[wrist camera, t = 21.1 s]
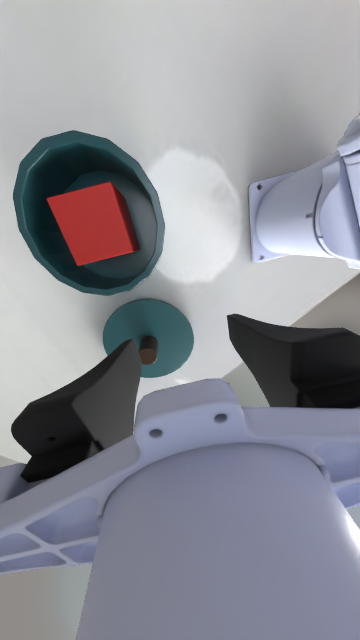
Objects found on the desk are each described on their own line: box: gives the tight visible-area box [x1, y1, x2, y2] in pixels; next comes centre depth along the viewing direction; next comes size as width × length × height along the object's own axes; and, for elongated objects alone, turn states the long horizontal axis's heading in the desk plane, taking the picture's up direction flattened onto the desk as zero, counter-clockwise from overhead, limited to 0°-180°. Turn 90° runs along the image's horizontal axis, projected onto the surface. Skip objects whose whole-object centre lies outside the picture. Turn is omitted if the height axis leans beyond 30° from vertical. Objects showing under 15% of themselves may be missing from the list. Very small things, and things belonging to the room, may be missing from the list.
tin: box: [13, 130, 165, 296], centre depth 16 cm, size 11×11×6 cm
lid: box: [103, 299, 194, 378], centre depth 23 cm, size 12×12×4 cm
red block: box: [47, 182, 140, 266], centre depth 16 cm, size 5×5×5 cm
